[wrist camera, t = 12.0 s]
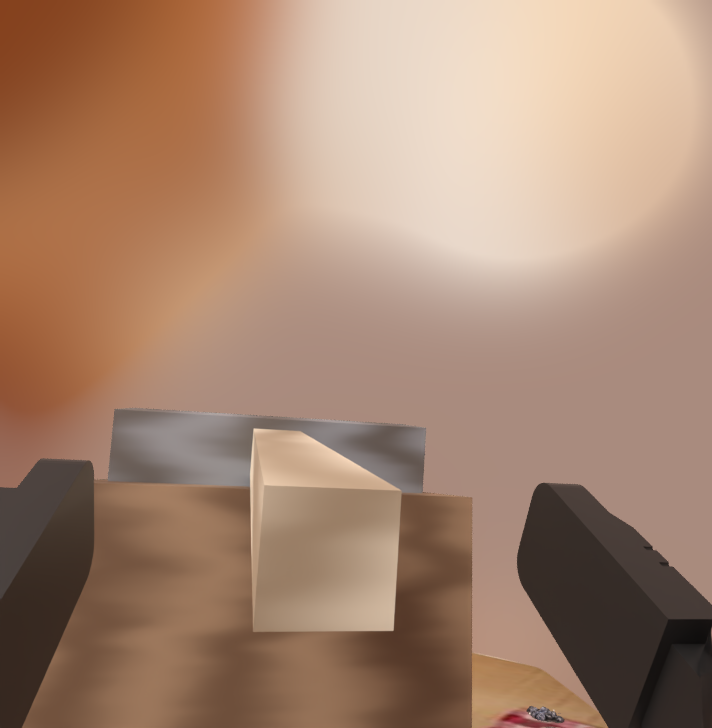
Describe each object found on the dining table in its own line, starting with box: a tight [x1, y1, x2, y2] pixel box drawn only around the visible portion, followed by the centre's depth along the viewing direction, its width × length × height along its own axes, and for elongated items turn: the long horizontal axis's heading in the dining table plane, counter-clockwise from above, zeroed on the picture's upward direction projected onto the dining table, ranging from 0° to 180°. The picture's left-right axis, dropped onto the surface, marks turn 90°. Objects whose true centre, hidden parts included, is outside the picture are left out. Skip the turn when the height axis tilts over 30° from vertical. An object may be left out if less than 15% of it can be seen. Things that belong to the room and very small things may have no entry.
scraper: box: [108, 408, 426, 632], centre depth 22 cm, size 16×25×4 cm, turn 11°
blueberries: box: [527, 706, 564, 728], centre depth 83 cm, size 7×8×2 cm
